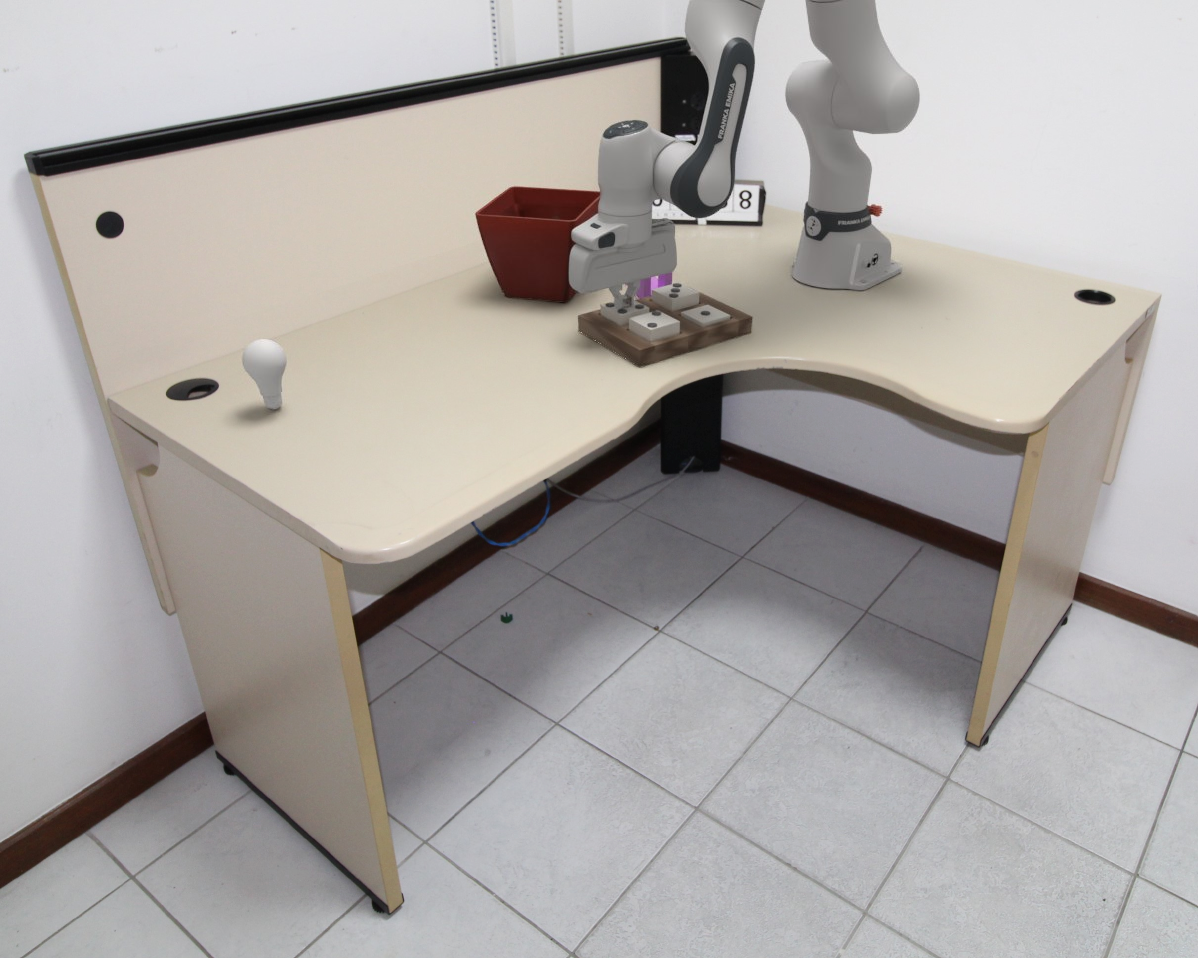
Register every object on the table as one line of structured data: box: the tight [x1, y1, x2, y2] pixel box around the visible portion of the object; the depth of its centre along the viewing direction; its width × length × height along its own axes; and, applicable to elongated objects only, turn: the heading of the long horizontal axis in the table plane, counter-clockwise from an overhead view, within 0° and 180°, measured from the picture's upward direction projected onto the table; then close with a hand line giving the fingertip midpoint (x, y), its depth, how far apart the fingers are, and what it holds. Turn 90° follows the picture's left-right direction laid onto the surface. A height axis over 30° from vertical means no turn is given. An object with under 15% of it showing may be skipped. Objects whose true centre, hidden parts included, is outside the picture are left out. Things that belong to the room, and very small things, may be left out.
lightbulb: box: [241, 338, 287, 411], centre depth 140 cm, size 6×6×11 cm
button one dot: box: [681, 305, 730, 327], centre depth 165 cm, size 6×6×3 cm
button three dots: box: [651, 282, 700, 312], centre depth 170 cm, size 6×6×3 cm
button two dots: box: [629, 310, 680, 343], centre depth 159 cm, size 6×6×3 cm
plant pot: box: [474, 185, 600, 303], centre depth 180 cm, size 19×19×17 cm
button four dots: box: [600, 299, 649, 326], centre depth 165 cm, size 6×6×3 cm
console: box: [577, 286, 754, 368], centre depth 166 cm, size 24×18×3 cm
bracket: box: [625, 272, 673, 299], centre depth 182 cm, size 13×6×7 cm, turn 17°
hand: (624, 306), depth 164 cm, fingers closed
